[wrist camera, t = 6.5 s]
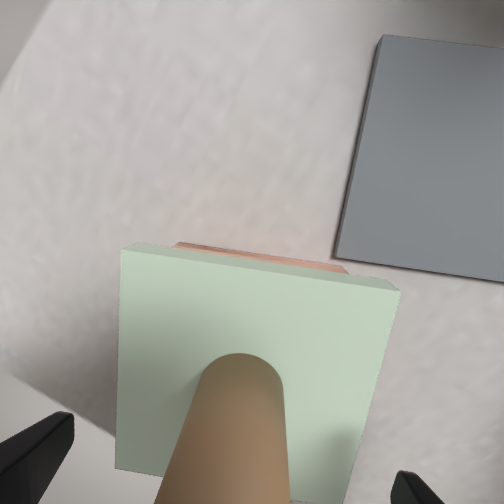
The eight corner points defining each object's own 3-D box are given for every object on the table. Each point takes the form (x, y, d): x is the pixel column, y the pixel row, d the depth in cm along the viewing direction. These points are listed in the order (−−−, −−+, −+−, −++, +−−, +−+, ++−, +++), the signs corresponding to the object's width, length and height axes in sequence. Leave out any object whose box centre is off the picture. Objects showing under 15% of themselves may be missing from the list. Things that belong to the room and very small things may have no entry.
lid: (386, 279, 10) (575, 426, 4) (334, 477, 12) (401, 780, 6) (138, 242, 10) (-63, 322, 4) (129, 441, 12) (-12, 694, 6)
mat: (607, 68, 11) (624, 62, 10) (525, 283, 13) (535, 286, 12) (378, 41, 11) (383, 34, 11) (333, 254, 13) (336, 257, 13)
